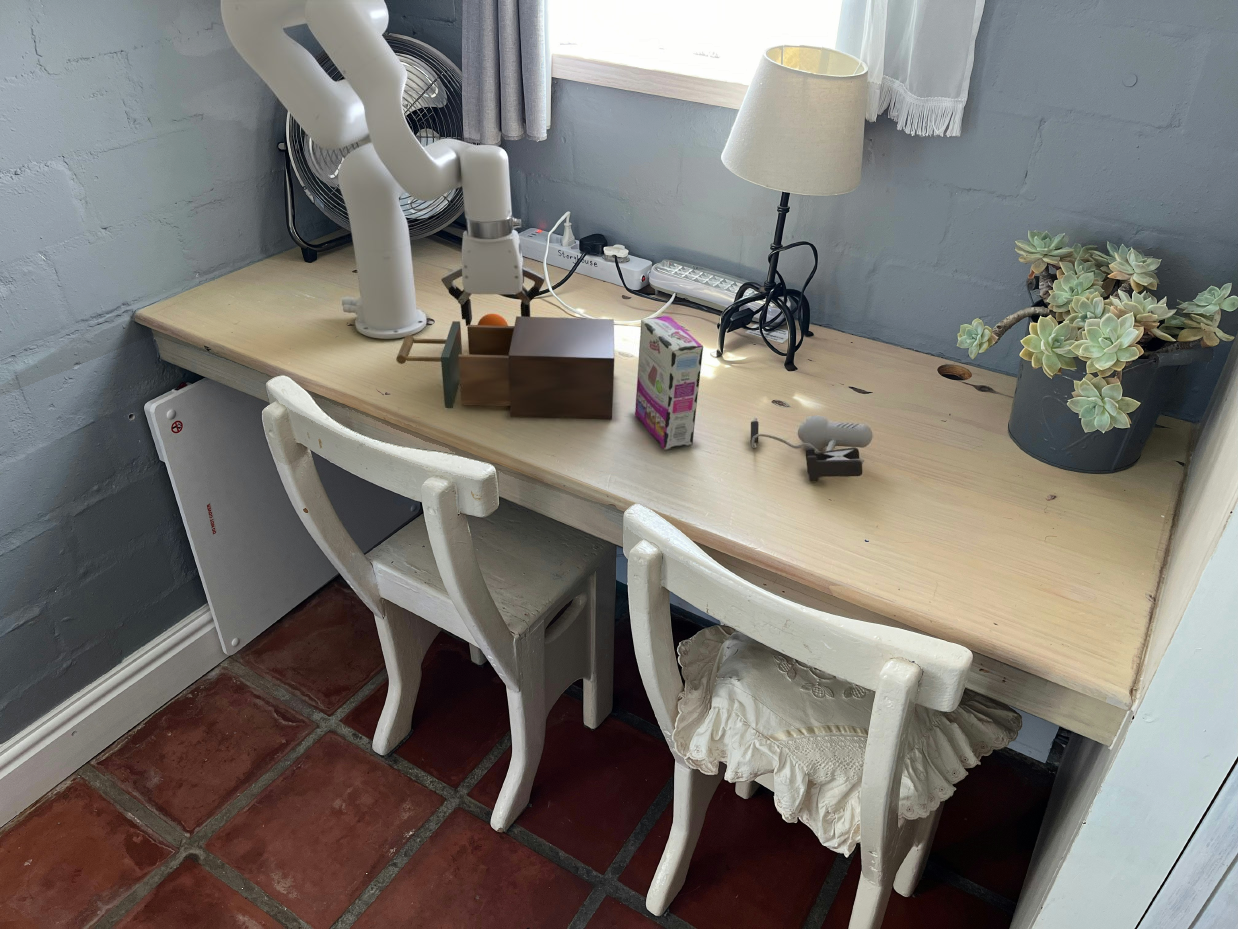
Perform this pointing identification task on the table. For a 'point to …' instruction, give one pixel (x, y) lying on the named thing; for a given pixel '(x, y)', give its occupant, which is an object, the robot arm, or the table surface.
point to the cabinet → (562, 368)
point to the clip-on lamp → (829, 434)
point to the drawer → (471, 364)
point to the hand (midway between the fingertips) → (496, 322)
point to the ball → (492, 320)
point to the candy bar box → (668, 381)
